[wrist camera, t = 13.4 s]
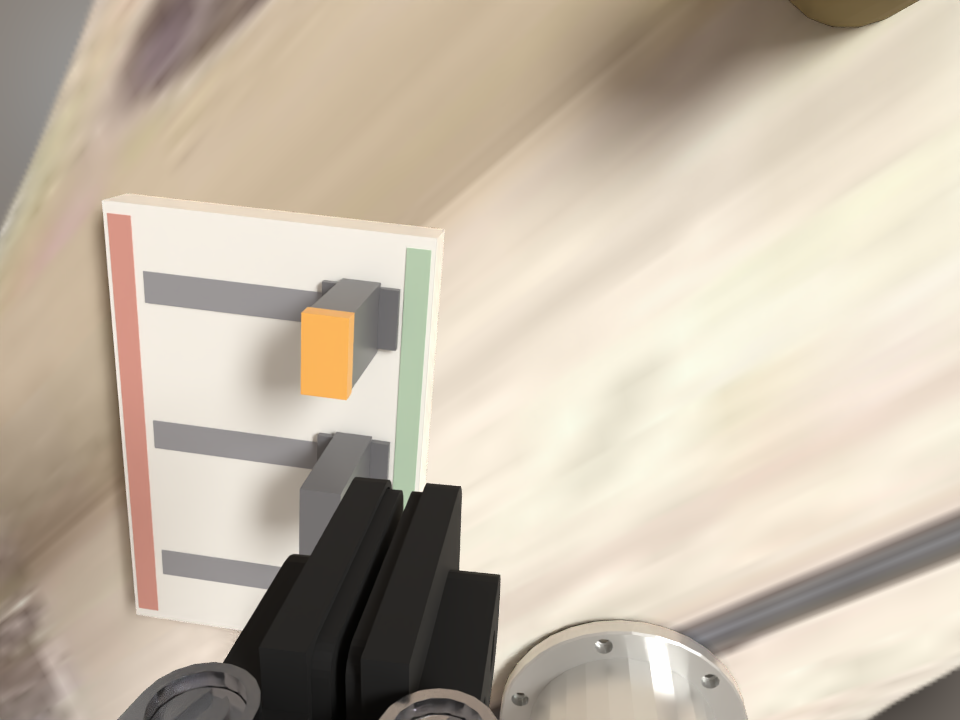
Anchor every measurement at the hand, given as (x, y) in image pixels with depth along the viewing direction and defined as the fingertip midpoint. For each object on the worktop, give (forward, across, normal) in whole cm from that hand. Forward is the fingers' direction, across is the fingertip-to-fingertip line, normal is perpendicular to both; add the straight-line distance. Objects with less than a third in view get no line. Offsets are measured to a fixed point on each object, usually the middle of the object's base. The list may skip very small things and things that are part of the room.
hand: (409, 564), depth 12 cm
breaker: (+20, +6, +9) cm, 23 cm away
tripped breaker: (+20, +6, +2) cm, 21 cm away
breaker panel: (+22, +10, +9) cm, 26 cm away
